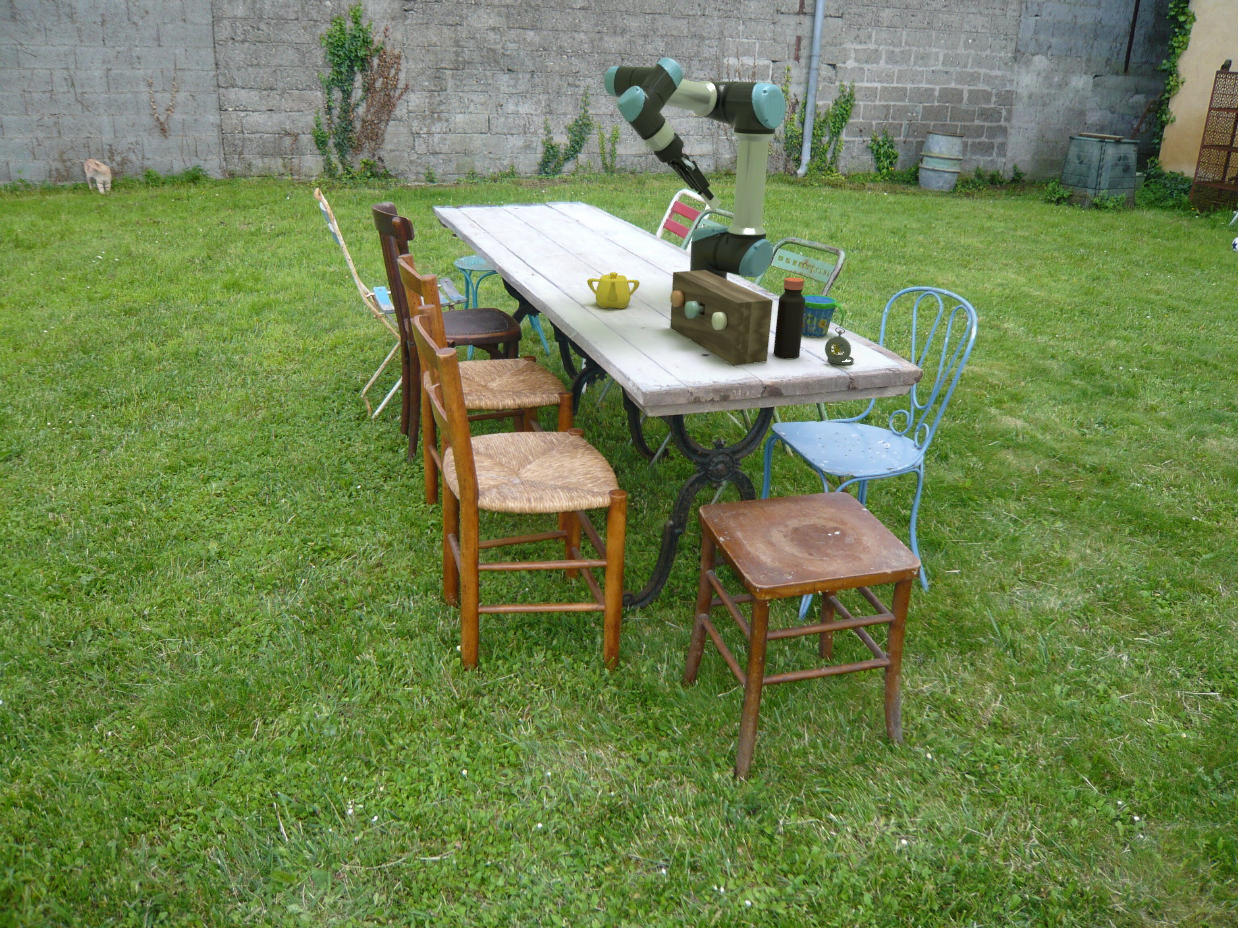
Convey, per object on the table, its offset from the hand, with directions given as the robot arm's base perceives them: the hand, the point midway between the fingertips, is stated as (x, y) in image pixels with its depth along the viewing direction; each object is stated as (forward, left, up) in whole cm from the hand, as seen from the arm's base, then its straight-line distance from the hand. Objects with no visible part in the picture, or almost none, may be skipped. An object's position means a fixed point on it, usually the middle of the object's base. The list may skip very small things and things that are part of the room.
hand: (716, 206), depth 248 cm
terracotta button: (-3, -9, -26) cm, 28 cm away
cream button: (+19, -20, -26) cm, 38 cm away
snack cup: (+24, +18, -34) cm, 45 cm away
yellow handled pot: (-36, -1, -34) cm, 50 cm away
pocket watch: (+42, -1, -34) cm, 54 cm away
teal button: (+8, -16, -26) cm, 32 cm away
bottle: (+29, -6, -34) cm, 45 cm away
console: (+10, -11, -34) cm, 37 cm away
